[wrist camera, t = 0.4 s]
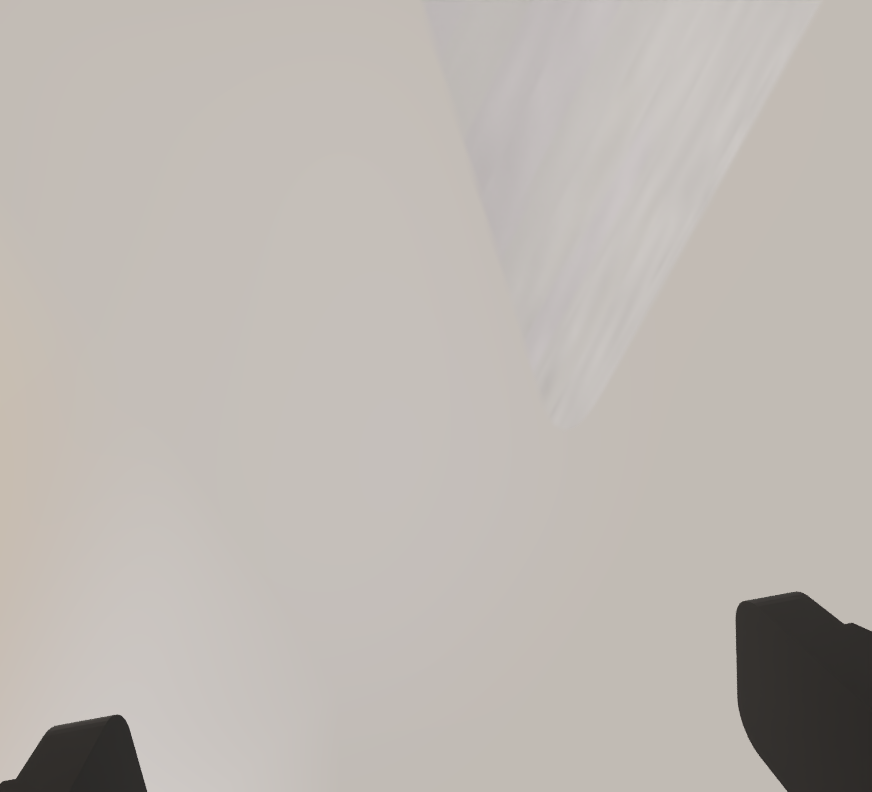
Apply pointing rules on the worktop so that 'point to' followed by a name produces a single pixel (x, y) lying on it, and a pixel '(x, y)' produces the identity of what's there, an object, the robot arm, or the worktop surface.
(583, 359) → the worktop surface
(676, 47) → the worktop surface
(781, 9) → the worktop surface
